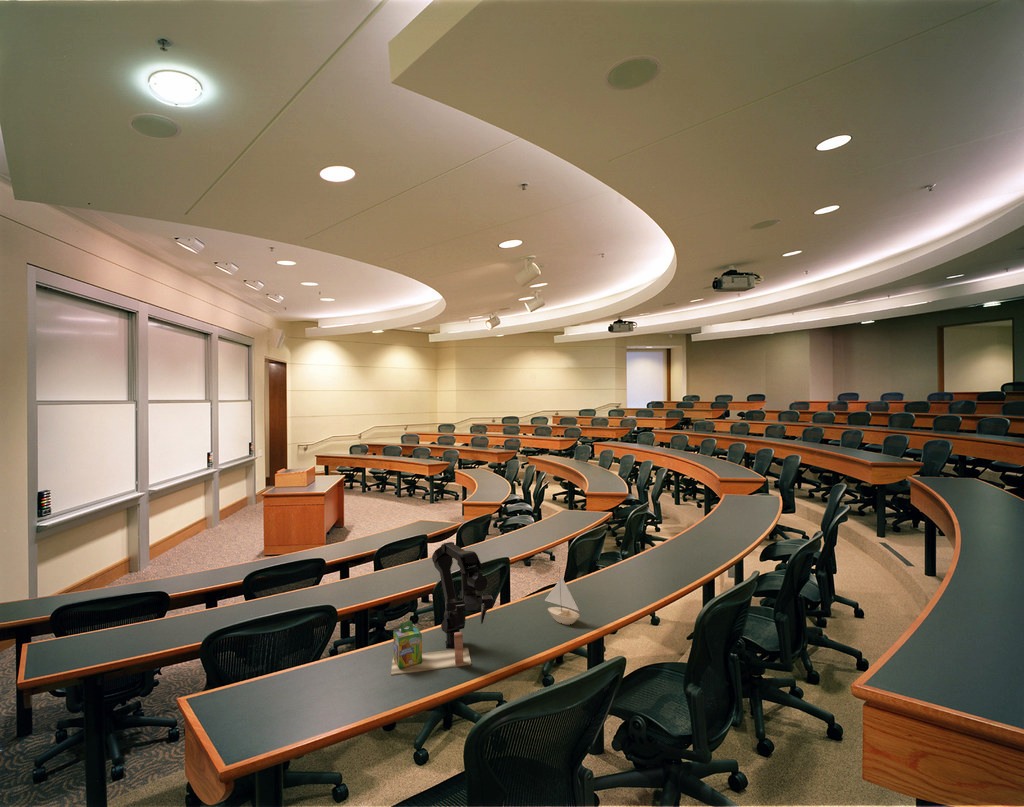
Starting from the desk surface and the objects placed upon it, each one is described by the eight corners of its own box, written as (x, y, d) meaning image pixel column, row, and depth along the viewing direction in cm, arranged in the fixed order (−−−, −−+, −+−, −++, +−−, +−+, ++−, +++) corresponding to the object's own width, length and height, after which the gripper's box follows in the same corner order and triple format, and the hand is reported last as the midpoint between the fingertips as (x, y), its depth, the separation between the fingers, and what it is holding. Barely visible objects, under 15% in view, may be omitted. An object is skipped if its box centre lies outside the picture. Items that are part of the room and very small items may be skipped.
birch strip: (393, 658, 192) (392, 628, 193) (467, 648, 198) (466, 620, 199) (390, 675, 178) (390, 643, 179) (471, 664, 184) (470, 633, 185)
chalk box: (399, 669, 181) (398, 629, 182) (393, 660, 189) (392, 621, 190) (423, 663, 186) (422, 624, 186) (416, 654, 194) (415, 616, 195)
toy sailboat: (583, 568, 220) (571, 572, 214) (586, 624, 218) (574, 630, 212) (549, 560, 235) (537, 564, 229) (551, 613, 233) (539, 618, 227)
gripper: (446, 593, 181) (447, 636, 180) (495, 588, 185) (496, 630, 184) (444, 584, 192) (446, 624, 191) (490, 580, 196) (492, 619, 195)
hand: (470, 625), depth 190 cm, fingers open, 9 cm apart
